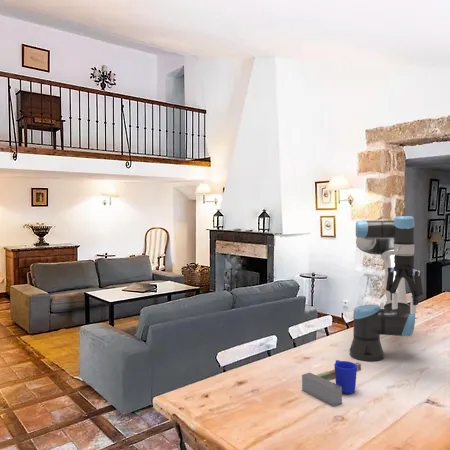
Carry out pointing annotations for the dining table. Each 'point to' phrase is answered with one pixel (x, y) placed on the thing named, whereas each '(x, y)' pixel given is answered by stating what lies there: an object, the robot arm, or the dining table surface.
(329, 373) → the brown and green stick
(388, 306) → the robot arm
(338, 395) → the grooved grey block
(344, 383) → the mug
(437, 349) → the dining table surface
